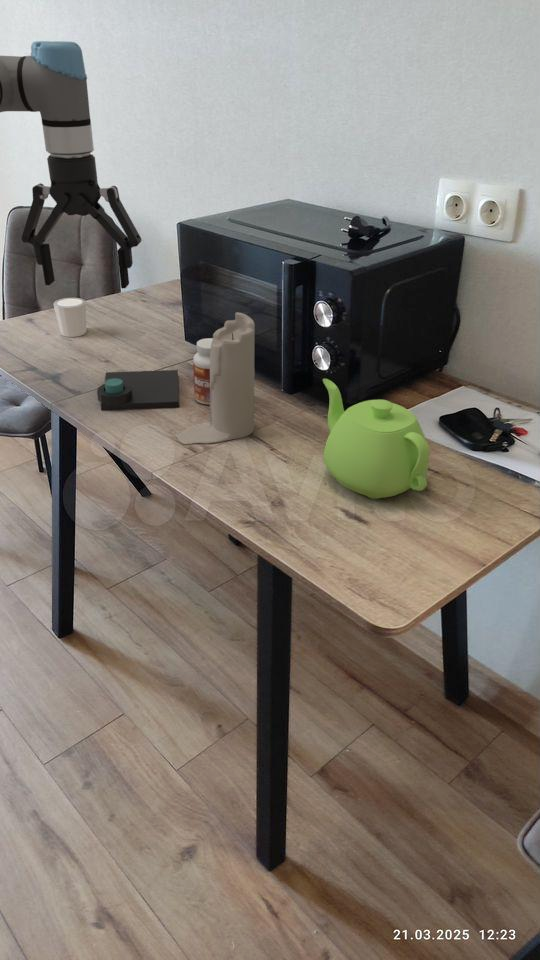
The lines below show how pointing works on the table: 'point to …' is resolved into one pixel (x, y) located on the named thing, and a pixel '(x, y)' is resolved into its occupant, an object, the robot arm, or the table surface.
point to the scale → (141, 390)
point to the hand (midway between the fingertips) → (87, 284)
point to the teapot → (375, 447)
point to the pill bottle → (202, 371)
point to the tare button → (114, 386)
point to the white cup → (71, 316)
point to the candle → (228, 385)
